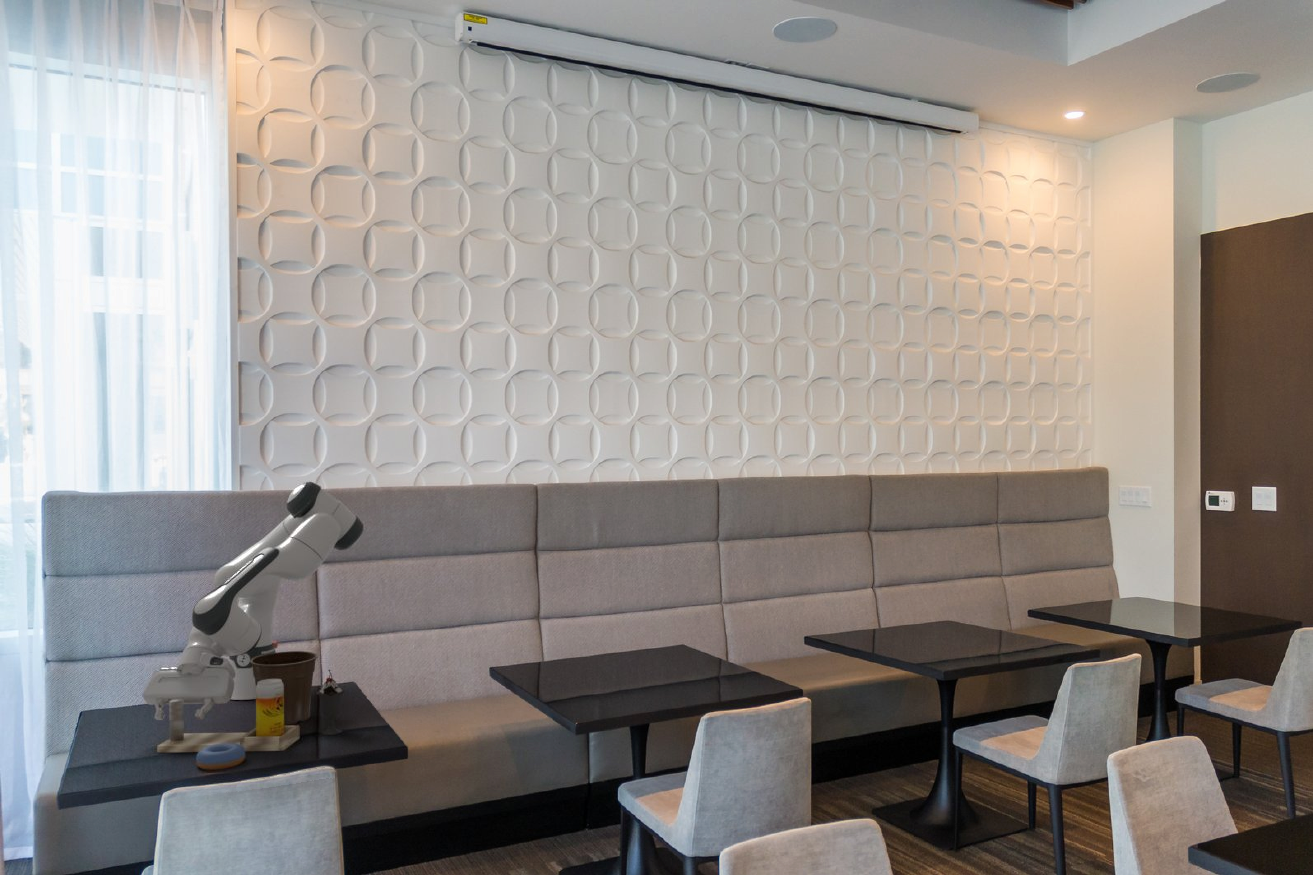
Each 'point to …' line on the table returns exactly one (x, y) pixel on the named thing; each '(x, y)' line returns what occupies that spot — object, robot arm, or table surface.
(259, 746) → the wooden peg stand
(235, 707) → the table surface
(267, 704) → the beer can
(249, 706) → the table surface
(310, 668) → the plant pot
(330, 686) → the sundae
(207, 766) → the doughnut
